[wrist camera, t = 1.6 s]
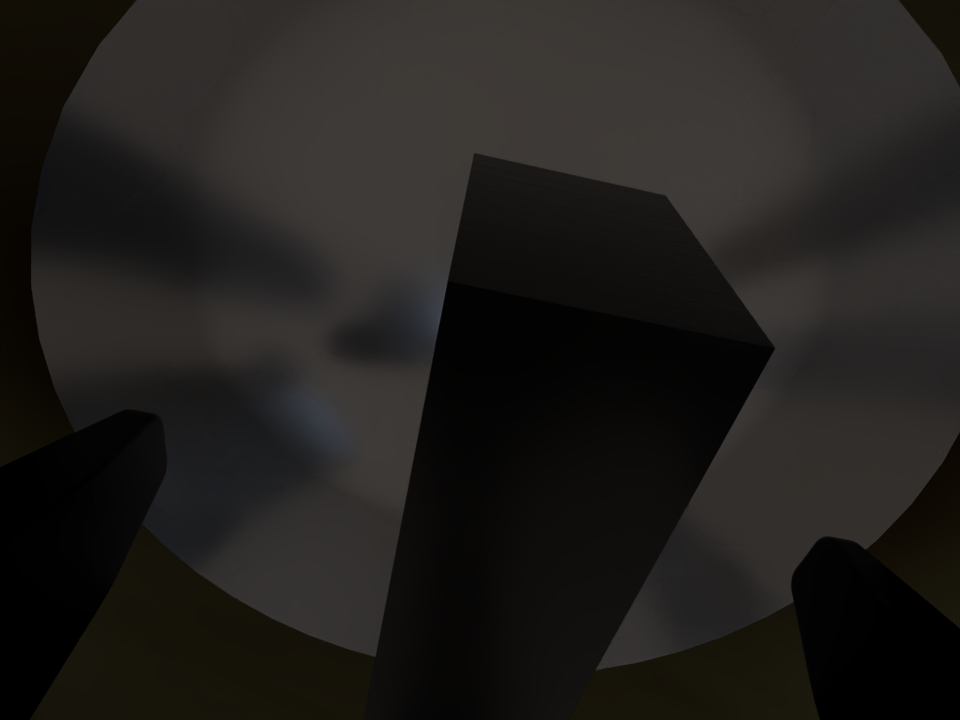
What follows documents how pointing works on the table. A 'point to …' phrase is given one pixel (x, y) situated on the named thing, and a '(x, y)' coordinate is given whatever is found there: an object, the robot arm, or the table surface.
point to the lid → (511, 313)
